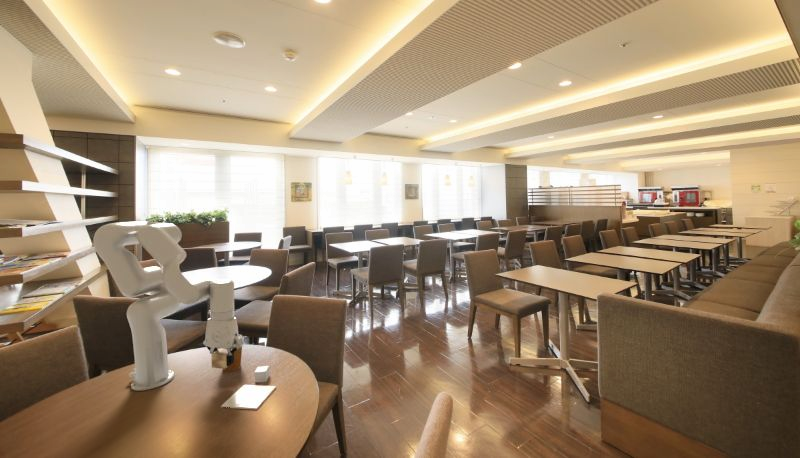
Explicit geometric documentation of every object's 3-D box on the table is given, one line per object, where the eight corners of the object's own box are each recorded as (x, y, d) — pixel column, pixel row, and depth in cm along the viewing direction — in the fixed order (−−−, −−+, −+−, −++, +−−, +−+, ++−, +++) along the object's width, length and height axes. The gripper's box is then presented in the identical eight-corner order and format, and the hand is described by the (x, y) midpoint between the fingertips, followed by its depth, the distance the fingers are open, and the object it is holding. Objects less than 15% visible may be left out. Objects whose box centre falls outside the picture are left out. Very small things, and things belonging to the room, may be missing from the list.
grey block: (255, 382, 117) (254, 372, 116) (258, 377, 121) (257, 366, 120) (266, 381, 117) (266, 371, 117) (269, 376, 121) (268, 365, 121)
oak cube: (211, 367, 114) (211, 353, 113) (221, 360, 119) (221, 347, 118) (224, 368, 113) (224, 355, 113) (233, 362, 118) (233, 348, 118)
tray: (221, 407, 102) (221, 405, 102) (244, 386, 114) (244, 384, 114) (256, 409, 101) (256, 407, 101) (275, 387, 113) (275, 385, 113)
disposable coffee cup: (249, 362, 132) (248, 333, 131) (235, 374, 123) (234, 343, 122) (228, 361, 133) (226, 333, 132) (212, 373, 124) (210, 343, 123)
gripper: (192, 316, 112) (193, 366, 113) (238, 320, 110) (238, 371, 111) (207, 309, 119) (208, 356, 120) (250, 312, 117) (251, 360, 118)
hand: (222, 363), depth 116 cm, fingers closed on oak cube, 5 cm apart
